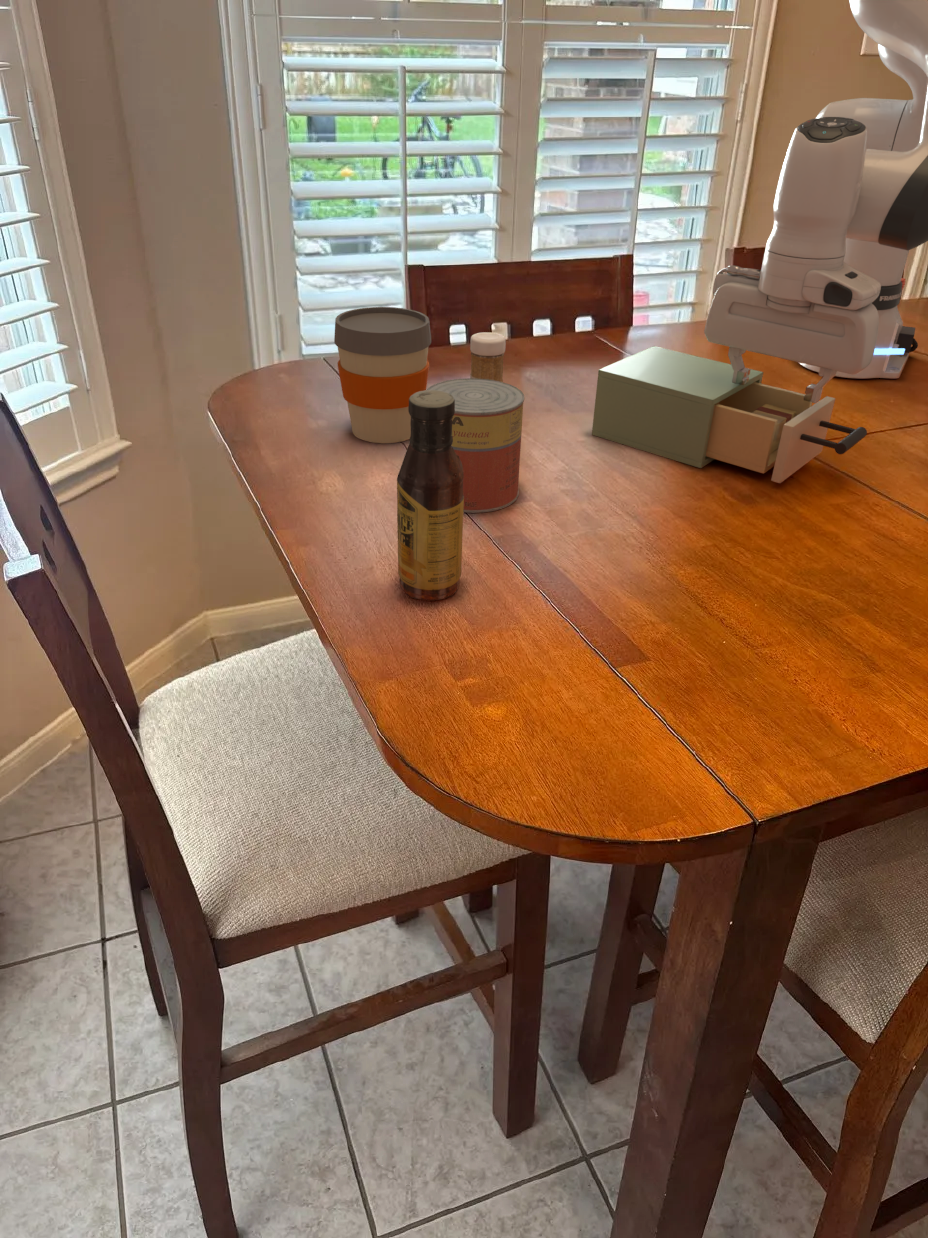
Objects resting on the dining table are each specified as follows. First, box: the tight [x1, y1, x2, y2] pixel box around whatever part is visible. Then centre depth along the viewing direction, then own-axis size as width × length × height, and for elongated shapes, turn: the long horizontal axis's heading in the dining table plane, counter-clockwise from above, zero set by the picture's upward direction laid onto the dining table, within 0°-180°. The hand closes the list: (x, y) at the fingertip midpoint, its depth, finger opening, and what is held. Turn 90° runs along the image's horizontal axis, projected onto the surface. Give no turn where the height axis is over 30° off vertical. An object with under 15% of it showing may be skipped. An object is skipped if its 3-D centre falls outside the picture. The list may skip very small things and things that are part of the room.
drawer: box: [706, 382, 868, 484], centre depth 117 cm, size 21×13×7 cm, turn 50°
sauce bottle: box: [396, 389, 464, 602], centre depth 86 cm, size 7×6×20 cm
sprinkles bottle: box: [469, 331, 507, 382], centre depth 121 cm, size 5×5×13 cm
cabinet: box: [591, 345, 764, 469], centre depth 124 cm, size 17×15×9 cm
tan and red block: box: [752, 404, 796, 454], centre depth 117 cm, size 9×4×4 cm, turn 140°
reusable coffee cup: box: [333, 306, 432, 444], centre depth 121 cm, size 13×13×15 cm
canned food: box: [426, 377, 525, 514], centre depth 107 cm, size 11×11×12 cm
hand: (774, 391), depth 115 cm, fingers open, 8 cm apart
